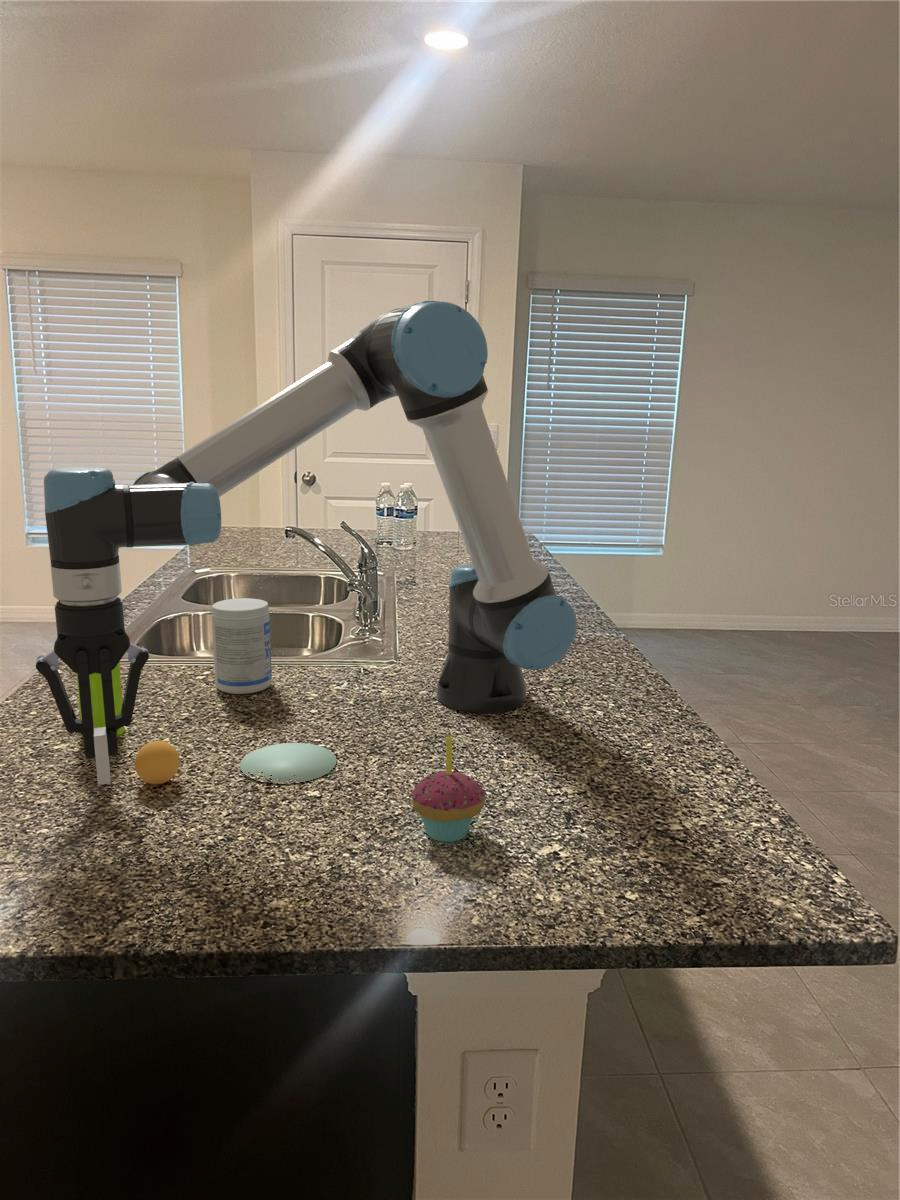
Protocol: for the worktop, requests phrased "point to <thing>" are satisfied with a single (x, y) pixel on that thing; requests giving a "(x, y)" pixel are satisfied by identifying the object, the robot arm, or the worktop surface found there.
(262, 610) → the supplement tub
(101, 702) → the soap dispenser
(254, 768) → the smooth pale green disc
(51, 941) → the worktop surface
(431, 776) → the cupcake
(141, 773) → the ball
